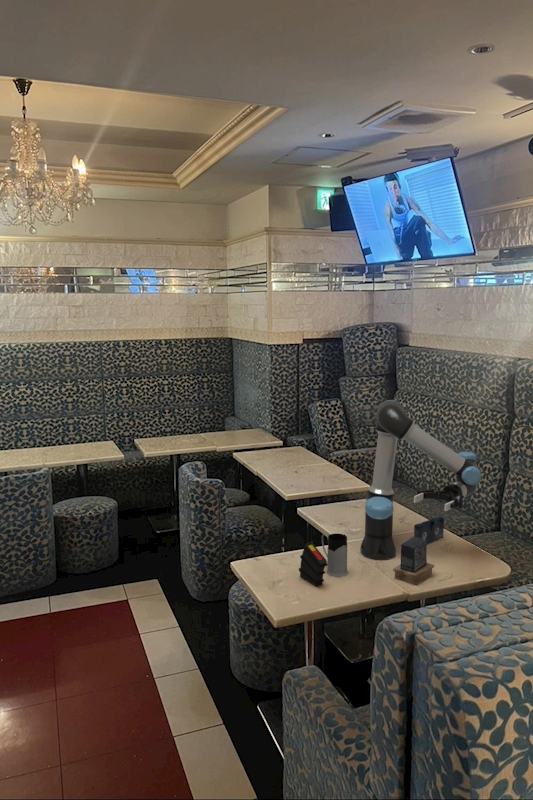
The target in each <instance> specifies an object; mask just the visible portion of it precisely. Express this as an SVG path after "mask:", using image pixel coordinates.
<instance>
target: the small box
mask: <svg viewBox="0 0 533 800" xmlns="http://www.w3.org/2000/svg"><path fill="white" fill-rule="evenodd" d="M427 546H428V544H427V540H426V539H422V538H418V537H414V536H412V537H410V538H409V539H407V540H405V541H404V542H402V543H401V544H400V564H401V566H400V569H403V570H406V571H409V572H413V573H415V572H416V571H418V570H419V569H421V568H422V567H423V566H425V565H426V564H427V563H428V562H427V555H428V553H427V549H428V547H427Z"/></svg>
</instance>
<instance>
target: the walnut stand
mask: <svg viewBox="0 0 533 800" xmlns="http://www.w3.org/2000/svg"><path fill="white" fill-rule="evenodd" d="M426 563H427V564H426V565H425V566H423V567H422V568H421V569H419V570H418V571H416V572H415V573H413V572H409V571H406V570H403V569H400V566H401V563H399V565H397V566H395V567H393V568H392V569H393V570H392V571H393V572H394V579H396V580H399V581H403V582H404V581H405V583H408V584H411V585H412V586H416V585H418V584H419V583H421V582H422V581H424V580H426V579H427V578H428V577H430V576H432V575H433V568H435V564H432V563H430V562H426Z"/></svg>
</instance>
